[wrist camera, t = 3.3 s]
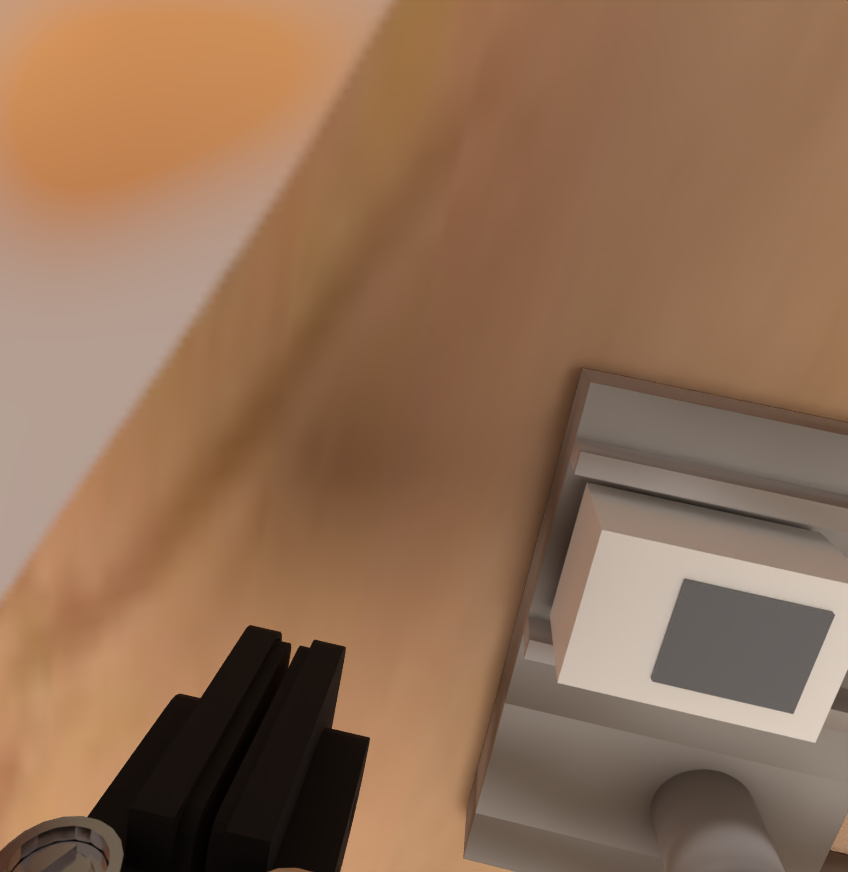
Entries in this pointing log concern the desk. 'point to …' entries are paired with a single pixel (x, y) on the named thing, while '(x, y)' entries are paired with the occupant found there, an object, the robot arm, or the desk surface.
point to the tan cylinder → (710, 825)
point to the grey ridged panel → (635, 721)
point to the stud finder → (702, 612)
